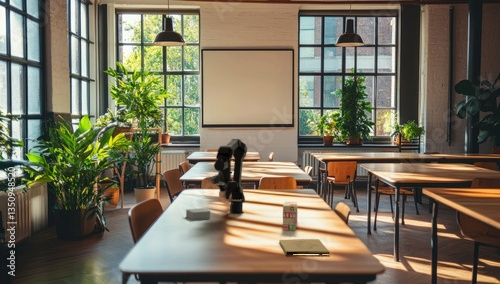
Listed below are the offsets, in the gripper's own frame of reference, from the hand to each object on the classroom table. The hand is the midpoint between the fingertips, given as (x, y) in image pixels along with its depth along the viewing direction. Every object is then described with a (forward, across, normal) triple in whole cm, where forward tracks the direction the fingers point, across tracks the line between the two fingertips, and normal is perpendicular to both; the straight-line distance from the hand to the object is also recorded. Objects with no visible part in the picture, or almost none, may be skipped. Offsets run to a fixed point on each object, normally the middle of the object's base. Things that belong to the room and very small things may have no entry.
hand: (225, 198), depth 266 cm
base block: (+11, -9, -12) cm, 19 cm away
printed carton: (+11, +30, +22) cm, 39 cm away
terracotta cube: (+1, 0, 0) cm, 1 cm away
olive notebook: (+12, +71, +2) cm, 72 cm away
